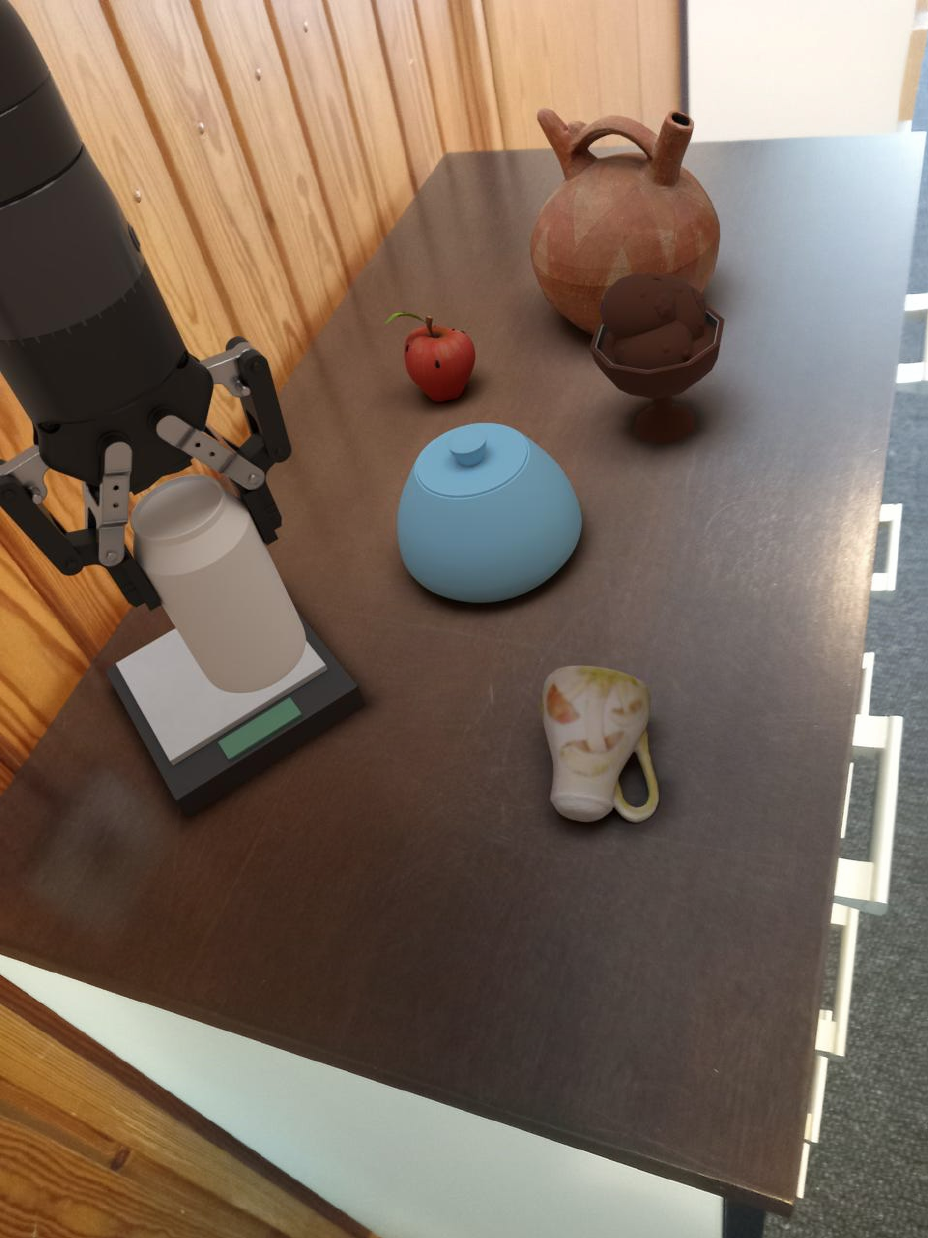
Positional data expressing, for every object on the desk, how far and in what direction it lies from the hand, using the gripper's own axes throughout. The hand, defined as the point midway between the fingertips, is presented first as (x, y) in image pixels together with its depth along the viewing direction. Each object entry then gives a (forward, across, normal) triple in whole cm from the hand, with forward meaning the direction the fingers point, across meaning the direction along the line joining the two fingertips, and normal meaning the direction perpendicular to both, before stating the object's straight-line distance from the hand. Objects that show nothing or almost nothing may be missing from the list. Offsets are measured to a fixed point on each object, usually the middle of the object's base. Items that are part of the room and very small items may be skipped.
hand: (209, 566), depth 54 cm
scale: (+24, +2, -14) cm, 28 cm away
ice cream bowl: (+24, -42, -16) cm, 51 cm away
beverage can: (+8, 0, 0) cm, 8 cm away
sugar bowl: (+24, -22, -14) cm, 35 cm away
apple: (+24, -31, -36) cm, 53 cm away
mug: (+24, -16, +9) cm, 30 cm away
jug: (+24, -52, -33) cm, 66 cm away
